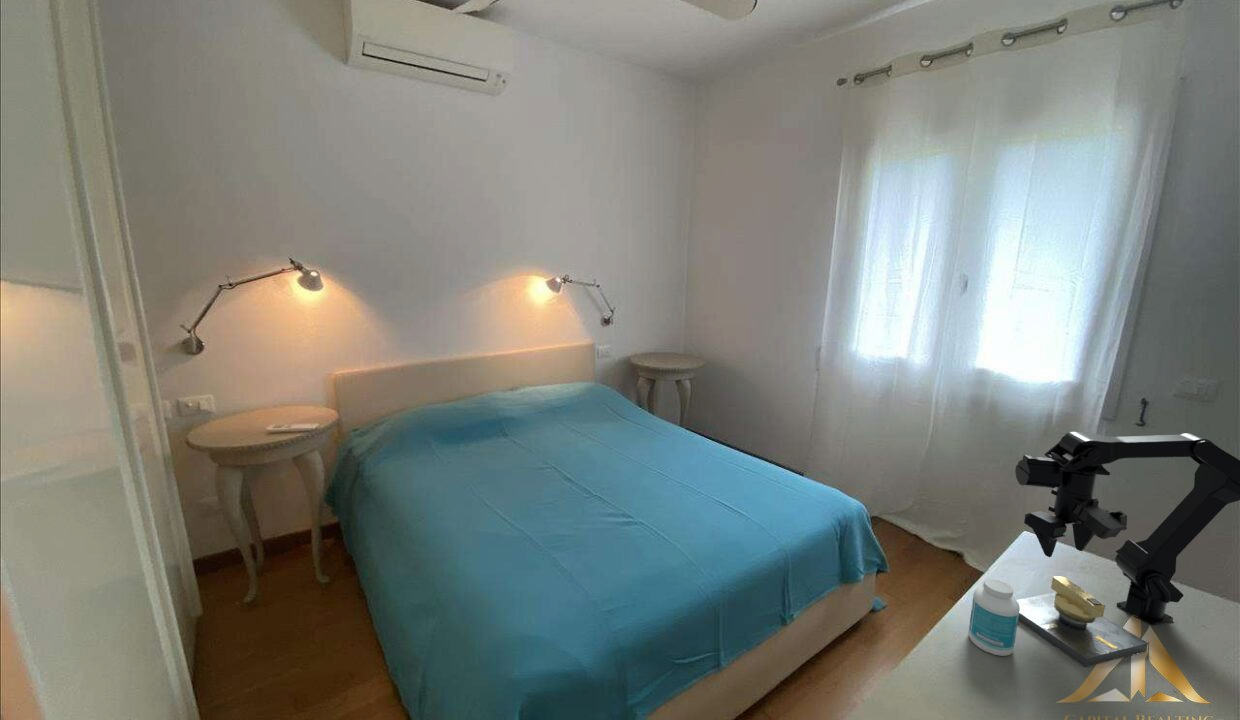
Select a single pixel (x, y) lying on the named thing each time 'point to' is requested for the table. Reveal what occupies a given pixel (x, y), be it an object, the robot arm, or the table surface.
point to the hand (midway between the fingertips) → (1063, 553)
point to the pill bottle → (994, 617)
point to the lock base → (1078, 633)
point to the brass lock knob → (1075, 601)
